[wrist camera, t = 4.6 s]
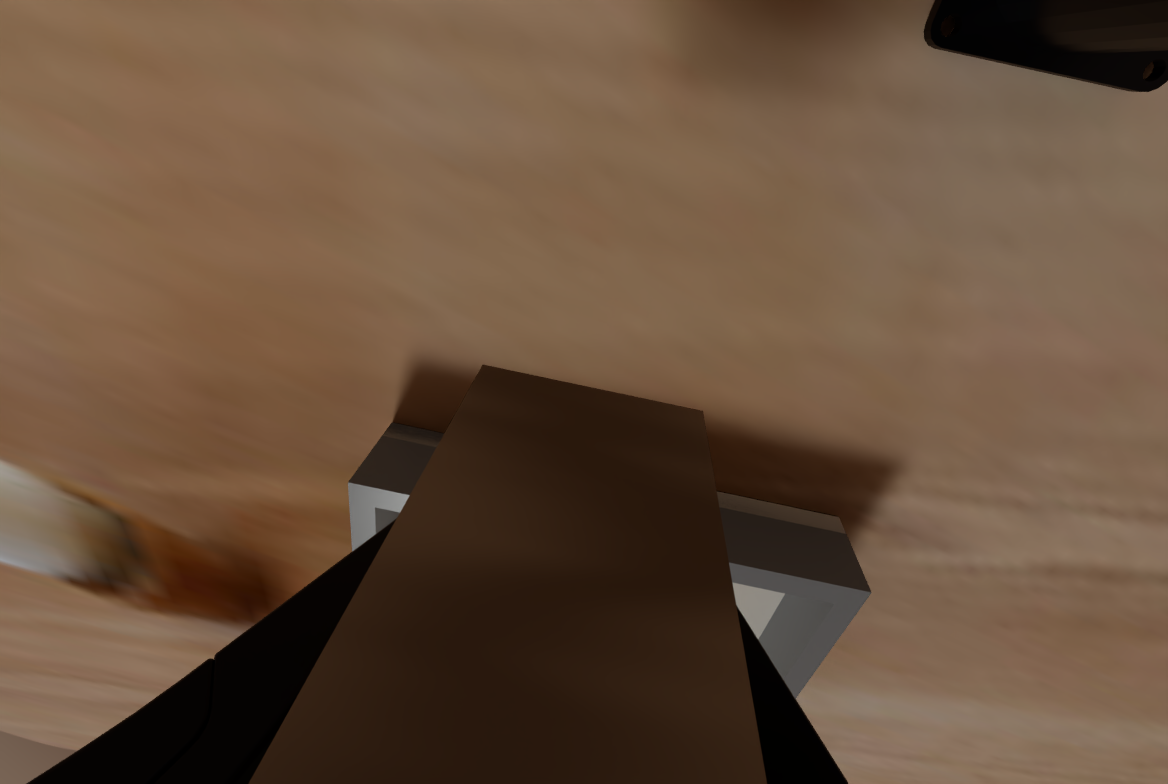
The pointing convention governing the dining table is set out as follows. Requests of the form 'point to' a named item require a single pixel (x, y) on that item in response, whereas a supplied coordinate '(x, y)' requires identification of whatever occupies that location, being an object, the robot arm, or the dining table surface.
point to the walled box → (753, 540)
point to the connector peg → (539, 611)
